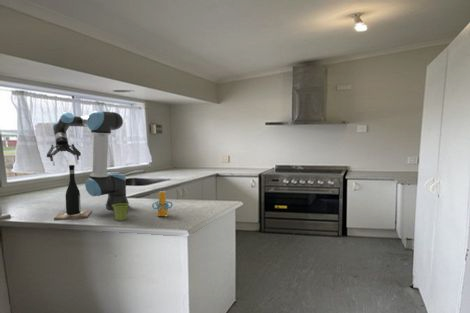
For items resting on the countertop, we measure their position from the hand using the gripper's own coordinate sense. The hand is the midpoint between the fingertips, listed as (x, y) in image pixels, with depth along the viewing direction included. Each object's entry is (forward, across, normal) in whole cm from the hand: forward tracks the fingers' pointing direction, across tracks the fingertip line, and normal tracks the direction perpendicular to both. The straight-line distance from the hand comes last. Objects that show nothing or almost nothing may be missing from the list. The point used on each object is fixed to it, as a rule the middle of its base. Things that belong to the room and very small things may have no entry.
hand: (65, 163), depth 213 cm
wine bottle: (+34, -1, -8) cm, 35 cm away
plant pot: (+54, -22, +10) cm, 59 cm away
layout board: (+35, -1, -8) cm, 36 cm away
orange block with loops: (+58, -45, +15) cm, 75 cm away
